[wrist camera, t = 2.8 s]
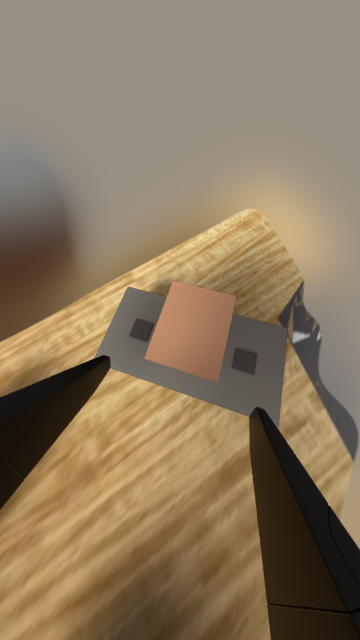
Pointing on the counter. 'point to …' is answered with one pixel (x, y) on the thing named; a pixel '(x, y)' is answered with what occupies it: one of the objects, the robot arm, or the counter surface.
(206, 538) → the counter surface
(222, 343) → the plug
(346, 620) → the robot arm
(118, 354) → the socket block
